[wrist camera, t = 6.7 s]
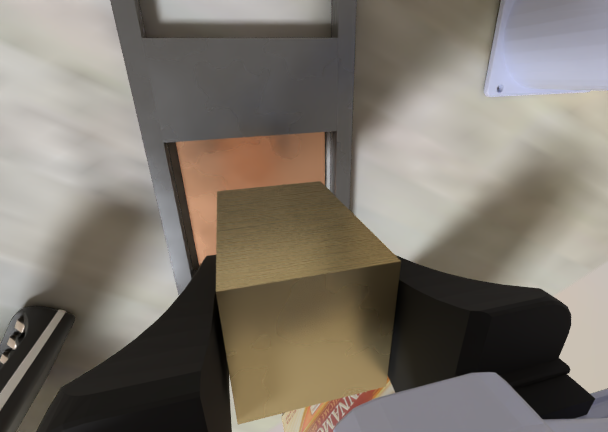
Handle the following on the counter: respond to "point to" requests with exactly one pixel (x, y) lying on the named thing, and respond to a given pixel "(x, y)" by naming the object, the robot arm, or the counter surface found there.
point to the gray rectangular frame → (238, 117)
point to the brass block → (301, 298)
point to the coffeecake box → (329, 411)
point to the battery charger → (28, 359)
